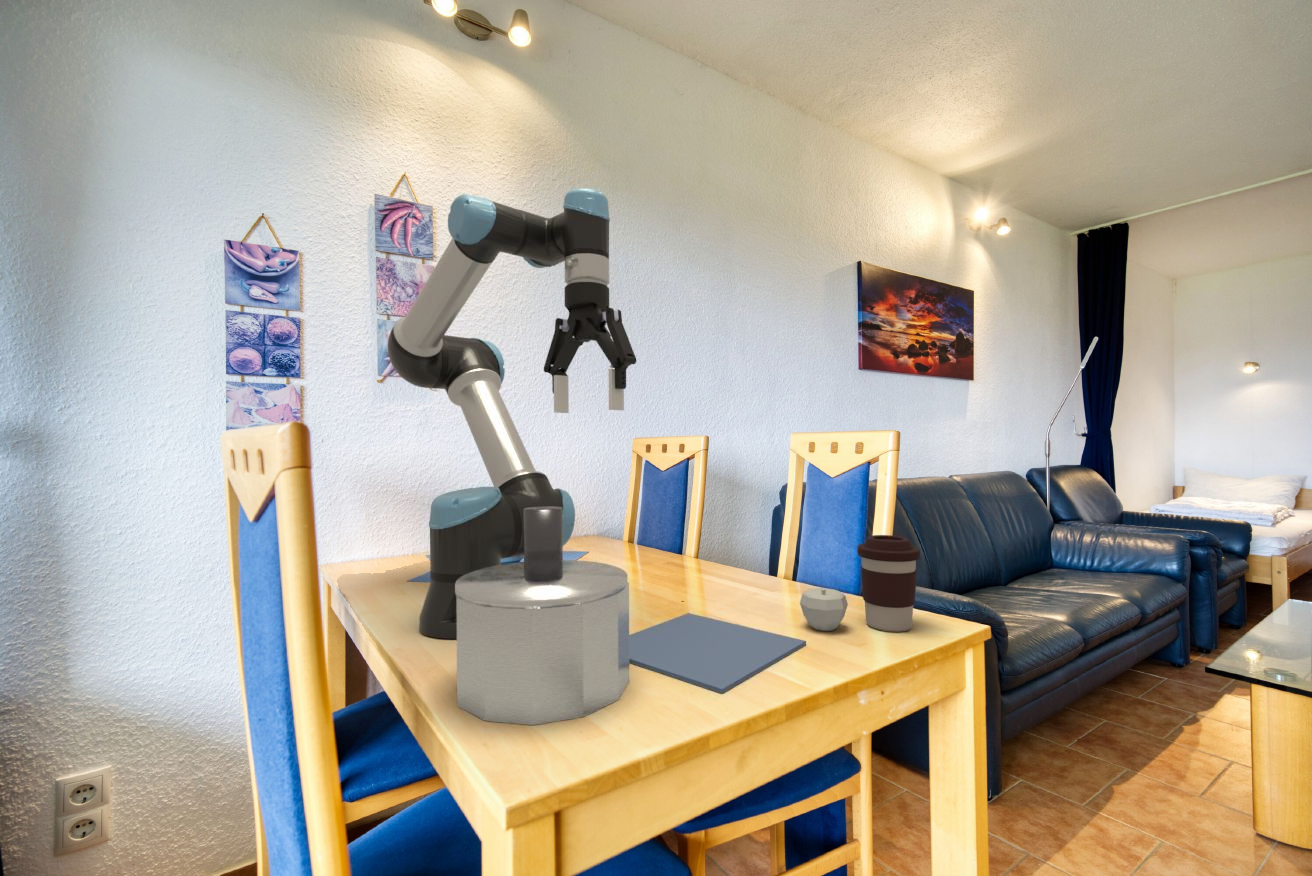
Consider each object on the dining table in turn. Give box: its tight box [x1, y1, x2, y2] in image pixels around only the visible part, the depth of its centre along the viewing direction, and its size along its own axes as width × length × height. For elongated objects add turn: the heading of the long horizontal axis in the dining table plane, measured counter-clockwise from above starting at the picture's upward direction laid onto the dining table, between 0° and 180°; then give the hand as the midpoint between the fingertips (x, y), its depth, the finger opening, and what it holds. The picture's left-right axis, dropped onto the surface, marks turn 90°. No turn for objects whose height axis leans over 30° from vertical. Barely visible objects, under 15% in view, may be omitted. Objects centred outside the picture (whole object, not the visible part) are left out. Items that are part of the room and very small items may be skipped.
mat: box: [629, 612, 807, 694], centre depth 91 cm, size 23×23×1 cm
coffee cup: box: [856, 534, 921, 633], centre depth 101 cm, size 10×10×15 cm
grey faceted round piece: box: [799, 587, 849, 632], centre depth 100 cm, size 8×8×7 cm
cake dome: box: [455, 506, 630, 726], centre depth 78 cm, size 22×22×23 cm
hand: (587, 411), depth 100 cm, fingers open, 13 cm apart
